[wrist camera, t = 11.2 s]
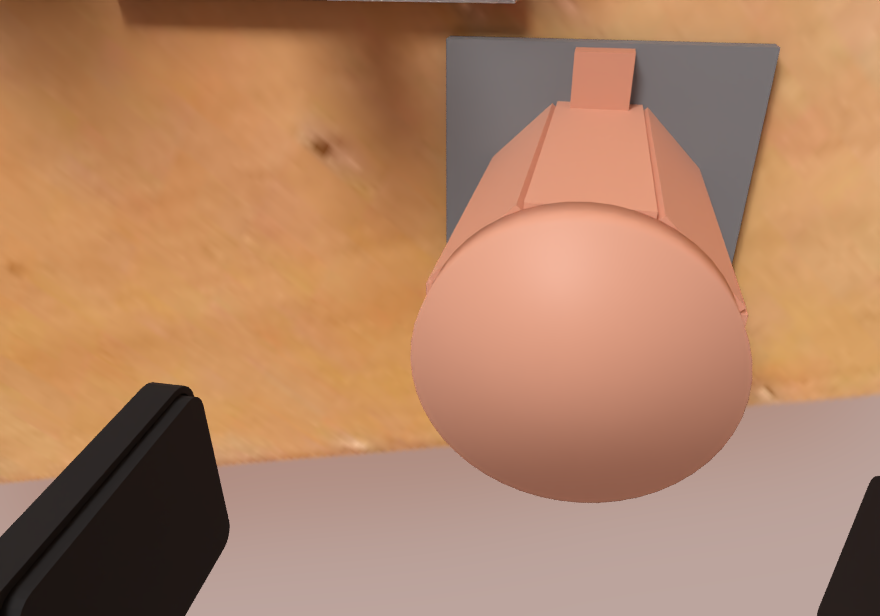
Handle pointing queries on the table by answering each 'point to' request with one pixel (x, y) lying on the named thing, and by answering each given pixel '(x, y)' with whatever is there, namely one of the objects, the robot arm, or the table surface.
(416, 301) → the table surface
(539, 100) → the coaster
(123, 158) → the table surface
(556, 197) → the salmon domed faceted piece
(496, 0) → the pegged base plate
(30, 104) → the table surface
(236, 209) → the table surface
